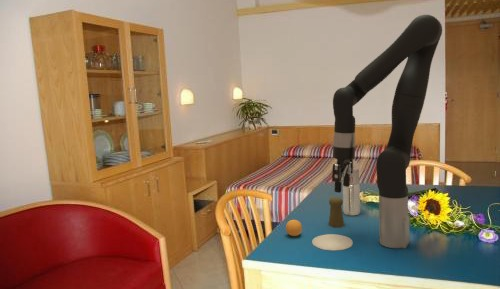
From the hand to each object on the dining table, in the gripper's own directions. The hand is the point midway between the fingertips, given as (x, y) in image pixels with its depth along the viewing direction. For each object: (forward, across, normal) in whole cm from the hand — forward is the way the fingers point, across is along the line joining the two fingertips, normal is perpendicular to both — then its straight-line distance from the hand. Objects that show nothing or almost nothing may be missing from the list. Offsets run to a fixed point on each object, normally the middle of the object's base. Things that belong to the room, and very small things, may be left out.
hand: (342, 189), depth 144 cm
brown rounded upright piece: (+18, +10, +5) cm, 22 cm away
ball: (+16, -7, +16) cm, 23 cm away
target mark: (+18, -7, 0) cm, 19 cm away
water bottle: (+18, +25, +4) cm, 31 cm away
